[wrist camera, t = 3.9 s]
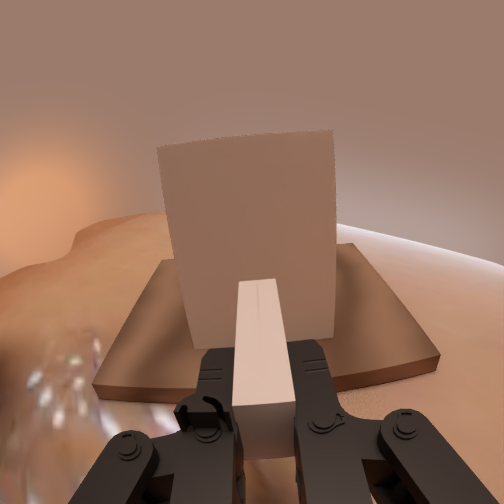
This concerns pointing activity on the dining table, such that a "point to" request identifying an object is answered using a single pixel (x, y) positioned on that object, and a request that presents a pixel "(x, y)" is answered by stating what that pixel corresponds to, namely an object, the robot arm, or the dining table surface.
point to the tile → (253, 228)
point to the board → (335, 349)
